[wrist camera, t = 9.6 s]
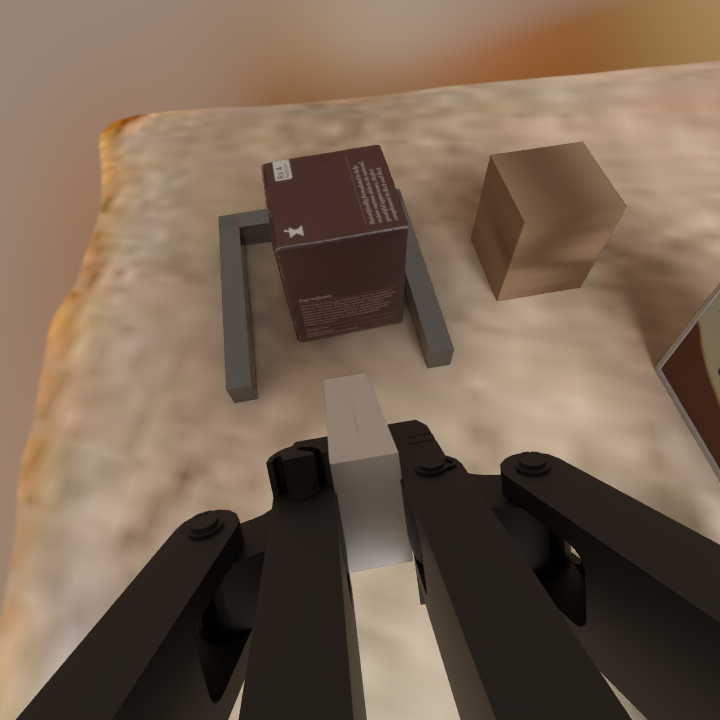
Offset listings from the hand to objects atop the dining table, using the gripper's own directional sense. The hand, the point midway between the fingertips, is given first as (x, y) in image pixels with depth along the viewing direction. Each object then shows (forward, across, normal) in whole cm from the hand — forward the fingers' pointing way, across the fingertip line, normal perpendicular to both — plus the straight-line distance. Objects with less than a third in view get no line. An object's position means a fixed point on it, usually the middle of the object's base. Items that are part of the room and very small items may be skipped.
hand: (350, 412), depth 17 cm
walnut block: (+12, +12, +3) cm, 17 cm away
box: (+12, +1, +3) cm, 13 cm away
